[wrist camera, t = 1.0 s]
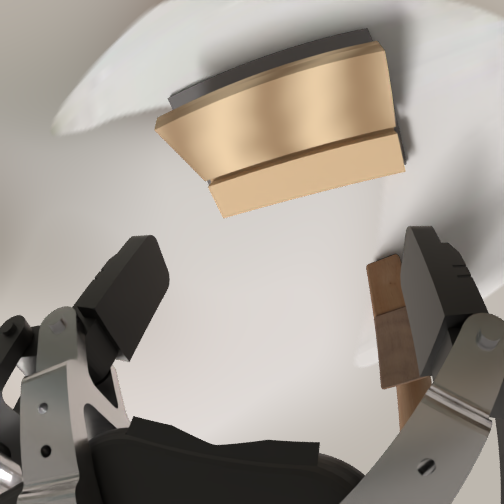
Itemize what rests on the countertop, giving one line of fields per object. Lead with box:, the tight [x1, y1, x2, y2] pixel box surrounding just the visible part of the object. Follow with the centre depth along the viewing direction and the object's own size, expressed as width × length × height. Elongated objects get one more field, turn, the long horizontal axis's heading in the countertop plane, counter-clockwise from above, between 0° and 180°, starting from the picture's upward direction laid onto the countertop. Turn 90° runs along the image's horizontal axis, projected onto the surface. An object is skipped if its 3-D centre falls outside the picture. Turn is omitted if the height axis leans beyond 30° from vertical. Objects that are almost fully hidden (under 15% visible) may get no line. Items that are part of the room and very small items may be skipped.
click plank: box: [155, 41, 396, 181], centre depth 20 cm, size 16×7×1 cm
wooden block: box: [366, 254, 432, 431], centre depth 24 cm, size 4×11×18 cm, turn 32°
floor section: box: [168, 28, 406, 218], centre depth 23 cm, size 17×12×2 cm
